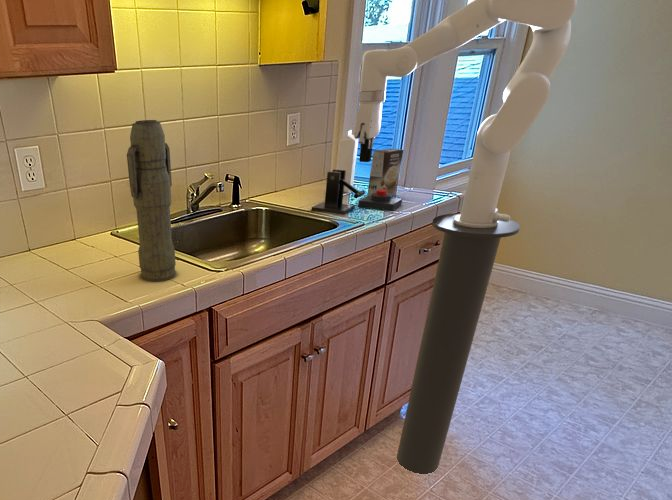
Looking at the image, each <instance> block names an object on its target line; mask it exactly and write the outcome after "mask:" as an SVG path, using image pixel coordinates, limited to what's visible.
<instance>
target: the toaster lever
mask: <svg viewBox="0 0 672 500" xmlns="http://www.w3.org/2000/svg"><path fill="white" fill-rule="evenodd" d="M334 172H338V171H334ZM342 176H343V175H341V177H342ZM340 182H341V183H342V184H343V185H344V186H346V187H347V188H348V189H350V190H351V192H352V193H354V194H353V198H354V199H358V198H360V197H361V196H363V195H365V194H366V191H365V190H361V191H359V190H358V189H357V188H355V187H354V185H353V186H351V185H350V184H349V183H347V182H346V181H345V180H343V179H342V178H340Z"/></svg>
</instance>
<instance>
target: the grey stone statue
mask: <svg viewBox="0 0 672 500" xmlns="http://www.w3.org/2000/svg"><path fill="white" fill-rule="evenodd" d="M129 141H130V147H128V149H127V153H126V159H127V160H126V162H127V163H126V164H127V171H128V181H129V189H130V195H131V197H132V201H133V206H134V208H135V209H136V211H135V212H136V220H137V231H138V241H139V247H138V251H137V254H138V262H139V263H138V265H139V268H140V277H141V279H142V280H145V281H148V282H164V281H168V280H169V281H170V280H171V279H173V278H175V276H176V275H177V274H176V273H177V272H176V265H177V264H176V263H177V262H176V249H175V246H174V242H173V235H172V234H173V233H172V220H171V205H172V188H171V187H172V185H173V184H172V181H173V180H172V167H171V165H172V164H171V149H170V147H169V145H168V143H167V142H166V137H165V132H164V129H163V127H162V124H161V122H160V121H158V120H157V119H145V120H136V121H135V123H132V124H131V130H130V134H129Z"/></svg>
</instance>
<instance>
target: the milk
mask: <svg viewBox="0 0 672 500" xmlns="http://www.w3.org/2000/svg"><path fill="white" fill-rule="evenodd" d="M352 132H353V131H352V129H350V130H348V131H347V135H346V136H344V137H342V138H341V139H339V141H338V149H337V150H338V151H337V160H336V169H335V170H346V175H345V181H346V182H347V183H349V184H350V185H351V186H353V187H354V181H355V174H356V173H355V172H356V165H357V158H358V157H357V156H358V149H359V148H358V147H359V138H358V139H355V138H354V134H352ZM351 192H352V191H351V190H350V189H348V188H347V187H346V186H344V193H351Z"/></svg>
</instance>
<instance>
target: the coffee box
mask: <svg viewBox="0 0 672 500" xmlns="http://www.w3.org/2000/svg"><path fill="white" fill-rule="evenodd" d="M403 157H404V149H400V148H383V149H376V150H372V157H371V164H370V165H371V166H370V172H369V180H368V186H367V187H368V188H367V194H366V197H367V196H371V194H372V193H376V190H379V189H384V190H387V193H389V194H391V197H393V196H397V193H398V192H397V191H398V187H399V186H398V185H399V179H400V174H401V167H402V163H403Z"/></svg>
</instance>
